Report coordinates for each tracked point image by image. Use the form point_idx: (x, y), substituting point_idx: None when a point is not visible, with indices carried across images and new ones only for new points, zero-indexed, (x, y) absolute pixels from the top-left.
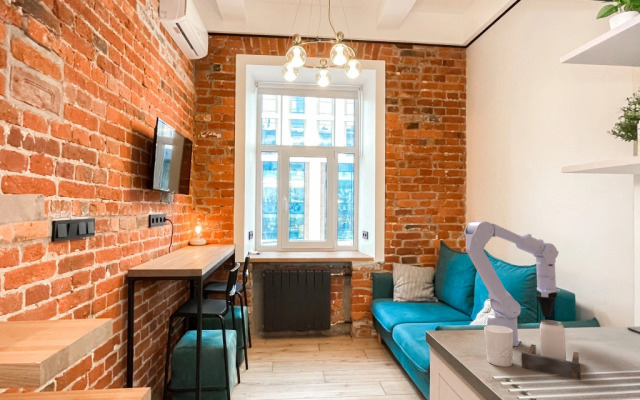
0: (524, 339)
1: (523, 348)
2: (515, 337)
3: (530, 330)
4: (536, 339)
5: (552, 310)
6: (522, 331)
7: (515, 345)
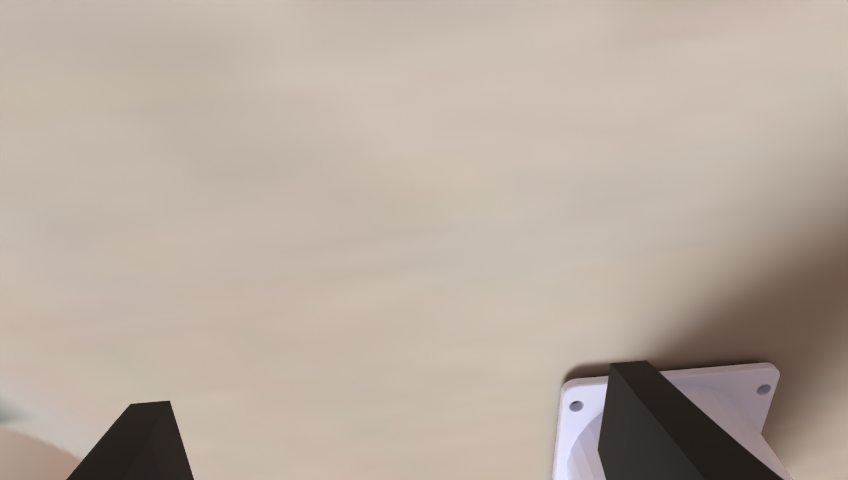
0: (484, 365)
1: (786, 314)
2: (742, 429)
3: (81, 394)
4: (407, 289)
5: (153, 431)
6: (195, 434)
7: (778, 375)
